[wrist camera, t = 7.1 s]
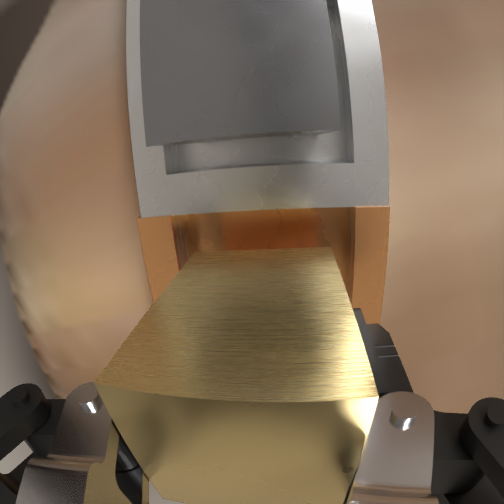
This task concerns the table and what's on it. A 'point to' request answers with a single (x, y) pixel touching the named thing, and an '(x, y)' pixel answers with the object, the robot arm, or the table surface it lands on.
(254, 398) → the yellow gold block
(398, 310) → the table surface
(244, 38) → the brushed steel cube
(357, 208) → the grey long flat tray
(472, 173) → the table surface
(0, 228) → the table surface
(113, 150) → the table surface
